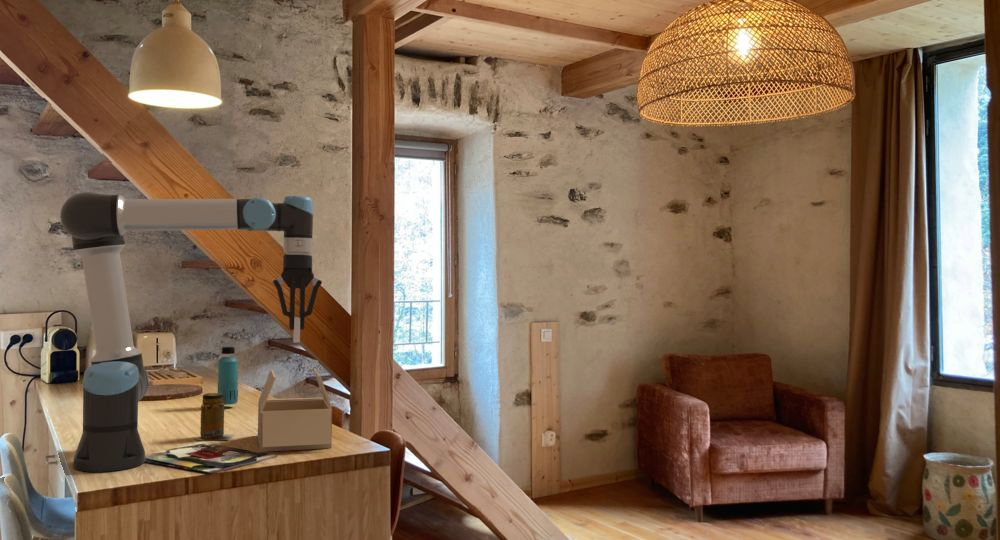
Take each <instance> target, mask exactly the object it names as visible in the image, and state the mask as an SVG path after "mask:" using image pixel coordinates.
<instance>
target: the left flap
mask: <svg viewBox="0 0 1000 540" xmlns="http://www.w3.org/2000/svg"><path fill="white" fill-rule="evenodd" d="M275 380H276V374H275V372H274V370H273V369H271V368H270V370H269V373H268V376H267V378H266V381H265V383H264V386H263V387H262V391H261V393H260V396H259V398H258V402H259V405H260V410H261V411H263V409H264V406H265V404H266V401H267V399H268V398H269V396H270V393H271V390H272V388H273V385H274V383H275Z"/></svg>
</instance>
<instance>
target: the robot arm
mask: <svg viewBox="0 0 1000 540" xmlns="http://www.w3.org/2000/svg"><path fill="white" fill-rule="evenodd" d="M59 216H60V223H61V226H62V227H63V229H64V230H65V231H66V232H67V233H68V234H69V235H70V236H71V237H70V238H71V241H72V248H73V253H75V254H76V255H78V256H79V257H80V258H81V261H82V268H83V274H84V281H85V287H86V292H87V293H86V294H87V299H88V301H87V302H88V307H89V313H90V319H91V320H90V321H91V326H92V332H93V339H94V340H93V341H94V346H95V351H96V352H95V354H94V355H93V356H92V358H91V359H90V363H91V365H89V366H88V367H86V369H85V371H84V373H83V378H82V387H83V392H82V394H83V396H82V397H83V398H82V433H81V437H80V440H79V442H78V444H77V447H76V450H75V454H74V455H73V463H72V464H73V469H75V470H77V471H80V472H81V471H82V472H91V473H101V472H102V473H104V472H115V471H121V470H129V469H132V468H136V467H138V466H141V465H143V464H144V463H145V462H146V451H145V448H144V444H143V441H142V439H141V436H140V433H139V428H138V426H139V425H138V423H139V422H138V421H139V420H138V419H139V418H138V417H139V402H140V401H141V400H142V399H143V398H144V396H145V395H146V393H147V391H148V388H149V387H148V386H149V382H150V381H149V380H150V379H149V375H148V371H147V370H146V369H145V366H144V361H143V353H142V351H141V350H140V349H138V348H136V347H135V346H134V345H135V344H134V339H133V337H134V336H133V333H132V327H131V319H130V312H129V306H128V300H127V298H128V297H127V291H126V286H125V285H126V284H125V279H124V273H123V265H122V260H121V252H122V251H123V249H124V248H126V241H125V236H124V235H125V234H126V233H127V232H149V231H150V232H152V231H153V232H154V231H161V232H163V231H197V230H198V231H205V230H207V231H208V230H210V231H214V230H215V231H216V230H224V231H225V230H239V231H248V232H253V231H256V232H266V231H267V232H283V251H282V252H283V253H285V254H284V255H283V256H282V258H283V259H282V260H283V262H282V272H281V273H280V276H279V277H277V278H276V279H273V280H272V284H273V285H274V286H275V288H276V290H277V296H278V300H279V303H280V307H281V308H280V309H281V313H282V315H283V316H284V317H285V316H286V317H288V318H289V321H288V322H289V330H293V334H292V335H293V336H292V337H293V339H292V340H293V341H292V342H293V343H295V344H296V343H301V331H302V330H305V318H306V317H308V316H311V315H312V313H313V309H314V305H315V302H316V297H317V294H318V290H319V287H321V286H322V283H323V281H322V280H320V279H318V278H317V277H315V275H314V271H313V256H312V253H313V230H314V229H313V227H314V226H313V225H314V207H313V200H312V198H311V197H309V196H303V195H302V196H301V195H287V196H284V199H283V202H276V203H275V202H271V201H270V200H268V199H267V198H264V197H254V198H125V197H124V196H122V195H121V194H105V193H95V192H89V191H88V192H87V191H85V192H78V193H76V194H73V195H72V196H70V197H69V198H68V199H66V200H65V202H63V205H62V206H61V210H60V215H59ZM283 281H284V283H285V284H286V286H287V287H288V288H289V308H287V303H286V299H285V295H284V292H283V287H282V286H283V284H284V283H283ZM311 282H312V283H311ZM310 283H311V285H312V286H313V287H312V289H311V291H310V292H311V293H310V296H309V299H308V303H307V308H306V306H305V305H306V301H305V300H306V288H307V287H308V286H309V285H310ZM296 289H299V299H298V300H299V301H298V303H299V304H298V305H299V310H298V311H299V313H298V314H299V316H298V317H295V315H296V314H295V312H296V307H295V306H296ZM305 308H306V309H305ZM288 310H289V311H288Z"/></svg>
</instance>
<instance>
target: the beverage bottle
mask: <svg viewBox="0 0 1000 540" xmlns="http://www.w3.org/2000/svg"><path fill="white" fill-rule="evenodd" d="M235 350H236V349H235V347H233V346H223V347H221V354H222V355H234V354H236V351H235ZM217 364H218V365H217V393H221V394H223V403H224V406H228V405H236V404H237V403H238V397H239V388H238V386H239V383H238V380H239V360H238V359H237V358H236V357H235V356H221V357H220V359H218V361H217Z"/></svg>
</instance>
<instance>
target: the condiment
mask: <svg viewBox="0 0 1000 540" xmlns="http://www.w3.org/2000/svg"><path fill="white" fill-rule="evenodd" d="M201 401H202V402H201V403H202V404H201V405H200V428H199V429H200V432H199V433H200V437H198V438H196V439H195V441H202V442H203V441H228V440H230V439H231V438H233V436H234V434H233V433H232V434H228V433H227V434H224V433H225V432H224V431H225V429H224V428H225V405H224V403H223V394H221V393H218V392H210V393H204V394H203V395H202V400H201Z"/></svg>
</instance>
